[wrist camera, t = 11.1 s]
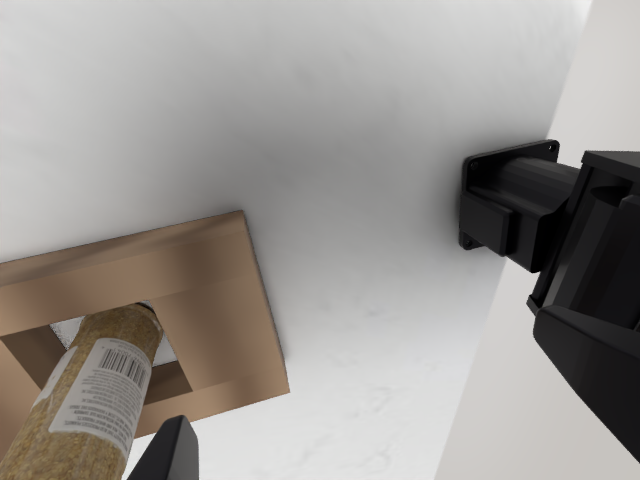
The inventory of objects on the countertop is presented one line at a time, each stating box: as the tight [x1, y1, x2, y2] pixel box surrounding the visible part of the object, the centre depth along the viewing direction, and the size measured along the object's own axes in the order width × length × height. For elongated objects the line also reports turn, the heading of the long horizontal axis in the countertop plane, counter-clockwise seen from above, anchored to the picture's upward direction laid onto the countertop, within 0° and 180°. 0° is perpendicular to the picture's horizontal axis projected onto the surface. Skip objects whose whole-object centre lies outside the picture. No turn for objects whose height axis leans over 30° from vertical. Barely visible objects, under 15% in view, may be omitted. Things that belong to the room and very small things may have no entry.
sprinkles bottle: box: [0, 303, 163, 480], centre depth 15 cm, size 5×5×13 cm
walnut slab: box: [0, 210, 290, 463], centre depth 20 cm, size 18×12×3 cm, turn 99°
